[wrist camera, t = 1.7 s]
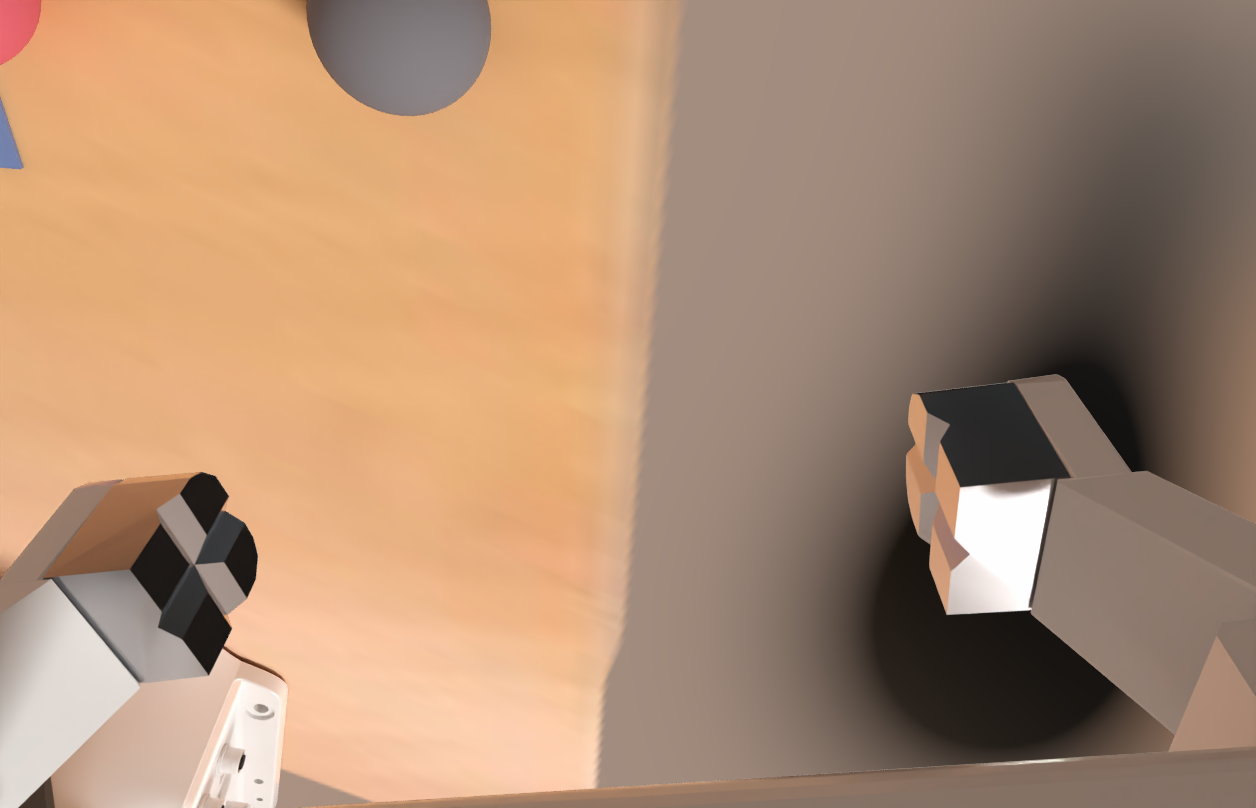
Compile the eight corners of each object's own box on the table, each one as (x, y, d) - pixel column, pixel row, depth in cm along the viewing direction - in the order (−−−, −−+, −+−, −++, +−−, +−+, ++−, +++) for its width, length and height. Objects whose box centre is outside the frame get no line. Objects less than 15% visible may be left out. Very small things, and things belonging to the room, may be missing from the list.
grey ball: (500, 95, 30) (478, 147, 26) (344, 81, 30) (294, 131, 25) (501, -80, 27) (477, -56, 22) (326, -99, 27) (266, -78, 22)
